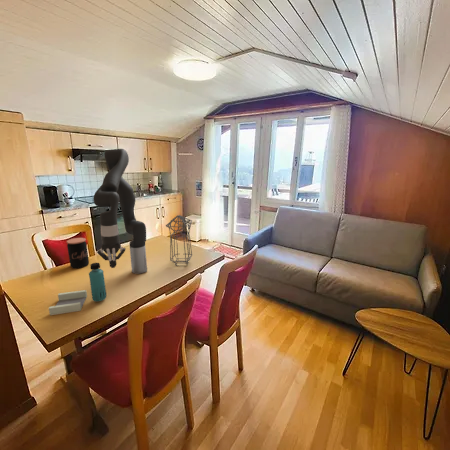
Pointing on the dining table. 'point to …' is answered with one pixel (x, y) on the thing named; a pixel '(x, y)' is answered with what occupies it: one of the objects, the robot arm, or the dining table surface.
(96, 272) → the beverage bottle
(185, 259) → the geometric lantern
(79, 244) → the coffee jar
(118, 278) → the dining table surface
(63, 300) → the cradle
